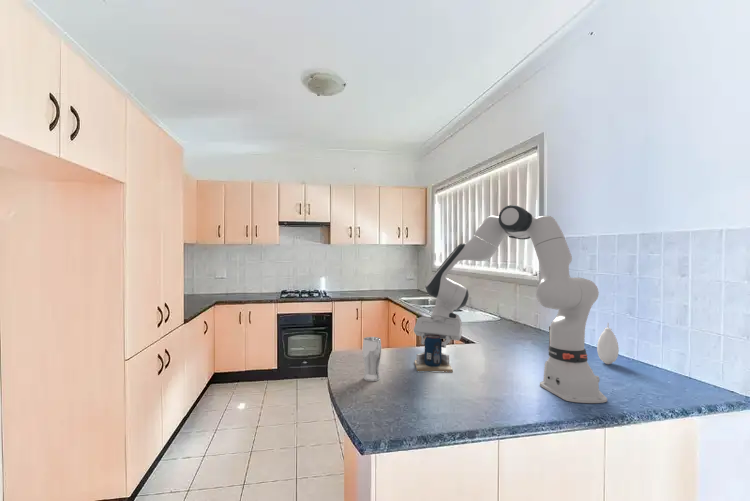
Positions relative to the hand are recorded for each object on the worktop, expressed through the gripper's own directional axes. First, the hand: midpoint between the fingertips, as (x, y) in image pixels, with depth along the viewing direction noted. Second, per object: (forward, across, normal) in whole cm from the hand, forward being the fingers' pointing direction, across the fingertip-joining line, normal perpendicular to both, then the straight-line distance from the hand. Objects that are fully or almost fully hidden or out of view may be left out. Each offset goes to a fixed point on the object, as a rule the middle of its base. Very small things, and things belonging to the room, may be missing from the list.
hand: (433, 345), depth 159 cm
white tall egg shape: (-25, +63, +39) cm, 79 cm away
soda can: (+6, 0, +6) cm, 8 cm away
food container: (-38, +43, +51) cm, 77 cm away
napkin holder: (+6, -1, +8) cm, 9 cm away
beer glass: (+24, -15, -10) cm, 30 cm away
